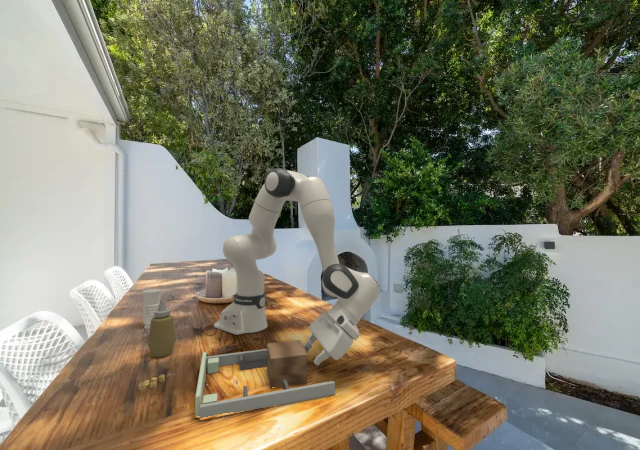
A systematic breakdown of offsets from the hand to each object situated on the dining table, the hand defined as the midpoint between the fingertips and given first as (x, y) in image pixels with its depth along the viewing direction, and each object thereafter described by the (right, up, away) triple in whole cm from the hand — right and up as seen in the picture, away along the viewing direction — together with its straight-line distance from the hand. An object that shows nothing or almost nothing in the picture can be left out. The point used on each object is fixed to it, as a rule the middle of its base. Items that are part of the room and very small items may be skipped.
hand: (310, 355), depth 84 cm
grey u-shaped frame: (-12, -5, -4) cm, 14 cm away
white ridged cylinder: (-68, -4, +35) cm, 76 cm away
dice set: (-42, -5, -8) cm, 43 cm away
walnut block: (-7, -5, -2) cm, 9 cm away
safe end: (-26, -5, -9) cm, 28 cm away
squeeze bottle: (-50, -4, +10) cm, 51 cm away
